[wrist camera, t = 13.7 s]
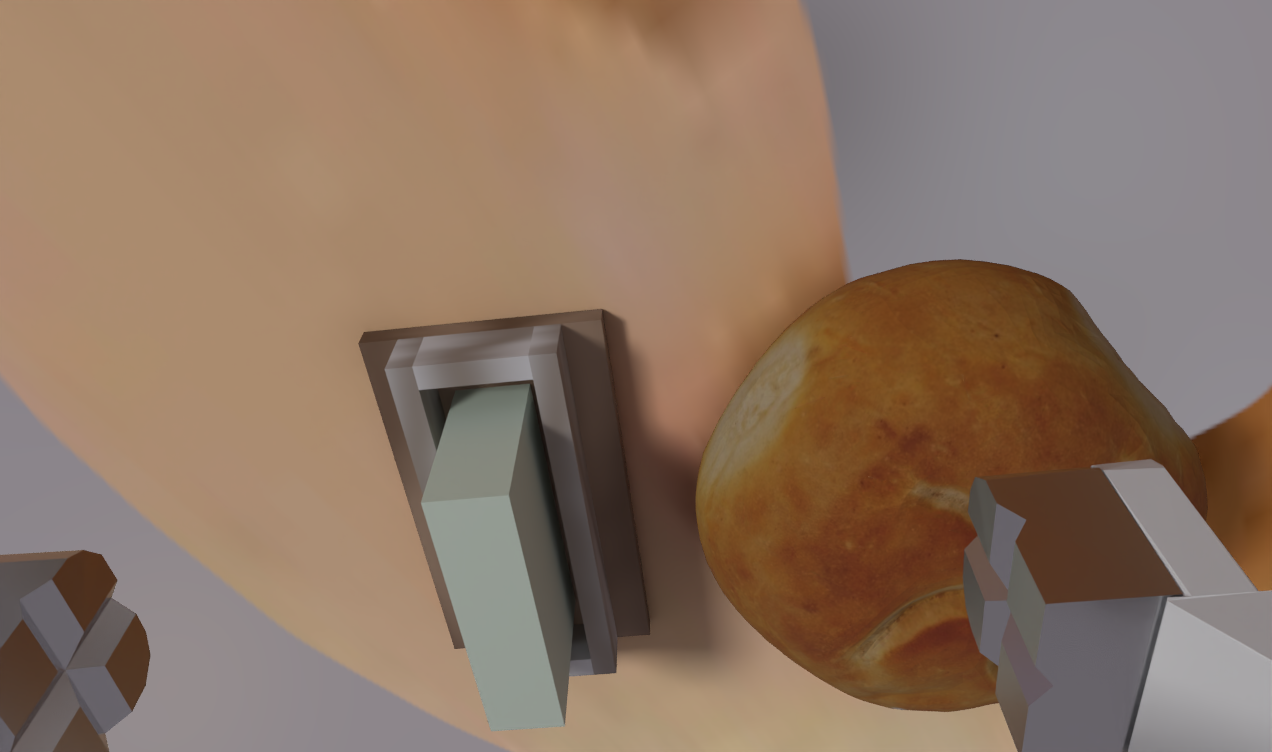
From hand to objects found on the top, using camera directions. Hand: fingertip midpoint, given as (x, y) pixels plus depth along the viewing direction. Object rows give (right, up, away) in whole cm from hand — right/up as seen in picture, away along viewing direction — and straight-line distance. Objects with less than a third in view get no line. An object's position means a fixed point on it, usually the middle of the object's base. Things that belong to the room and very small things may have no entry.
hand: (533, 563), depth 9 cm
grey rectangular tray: (-5, -4, +40) cm, 40 cm away
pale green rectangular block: (-5, -5, +39) cm, 39 cm away
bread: (+15, -2, +38) cm, 41 cm away
